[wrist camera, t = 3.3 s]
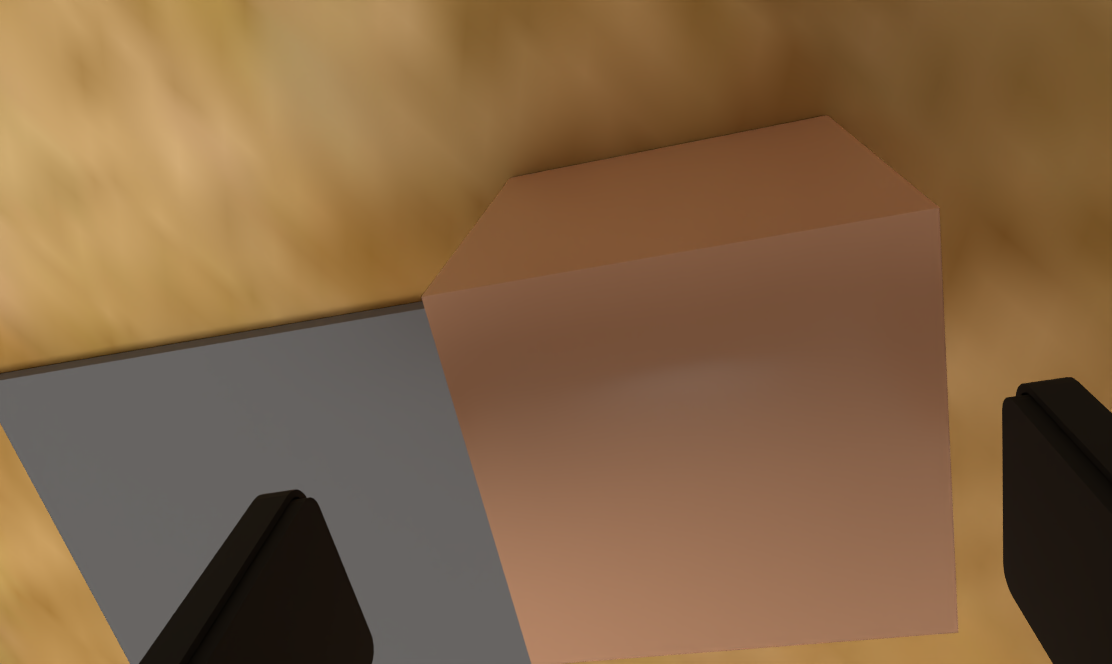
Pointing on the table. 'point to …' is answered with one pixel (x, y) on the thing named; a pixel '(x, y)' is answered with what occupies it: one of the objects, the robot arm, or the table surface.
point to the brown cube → (708, 397)
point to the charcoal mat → (272, 475)
